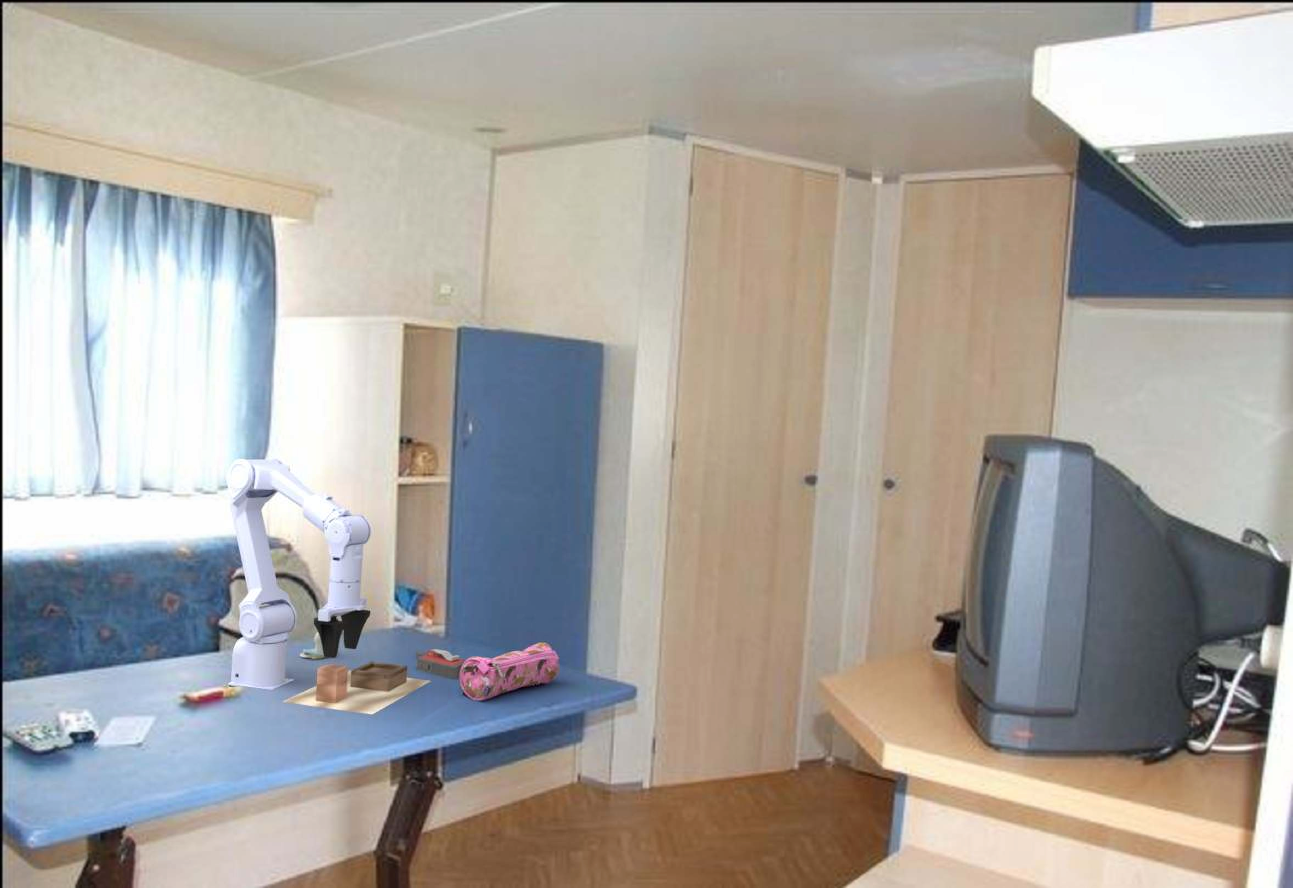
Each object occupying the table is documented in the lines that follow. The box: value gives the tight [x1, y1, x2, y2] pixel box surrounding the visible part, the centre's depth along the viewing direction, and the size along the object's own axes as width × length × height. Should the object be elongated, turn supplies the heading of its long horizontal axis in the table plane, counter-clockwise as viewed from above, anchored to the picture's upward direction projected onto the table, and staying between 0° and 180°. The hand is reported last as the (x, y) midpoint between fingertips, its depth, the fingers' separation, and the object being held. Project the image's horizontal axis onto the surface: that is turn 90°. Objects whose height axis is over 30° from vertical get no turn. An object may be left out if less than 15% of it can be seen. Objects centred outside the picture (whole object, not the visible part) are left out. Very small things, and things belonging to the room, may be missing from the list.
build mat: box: [282, 661, 432, 715], centre depth 197 cm, size 18×25×4 cm
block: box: [316, 663, 349, 703], centre depth 190 cm, size 4×4×6 cm
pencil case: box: [459, 642, 560, 702], centre depth 206 cm, size 21×9×9 cm, turn 143°
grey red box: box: [414, 648, 467, 680], centre depth 220 cm, size 9×4×20 cm
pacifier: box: [299, 631, 325, 660], centre depth 223 cm, size 7×6×6 cm
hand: (340, 652), depth 190 cm, fingers open, 7 cm apart
